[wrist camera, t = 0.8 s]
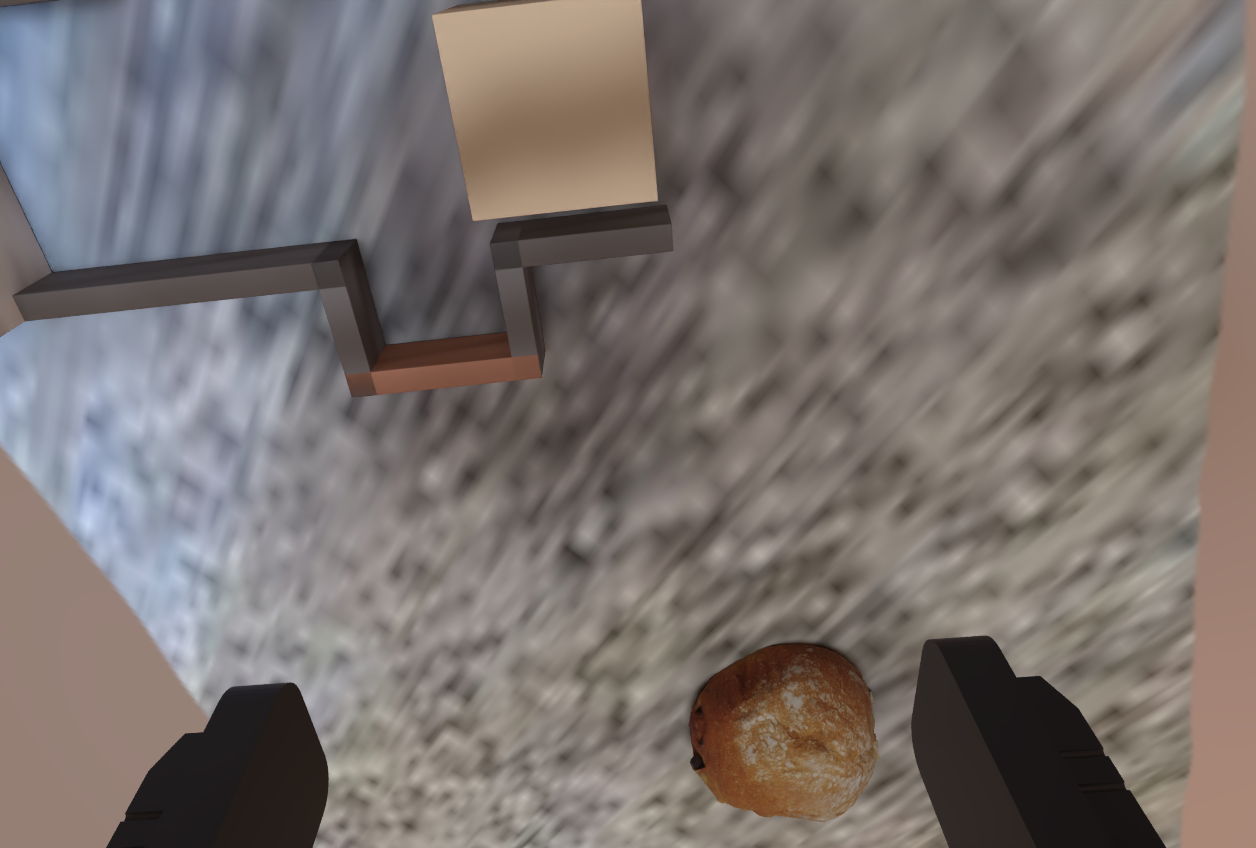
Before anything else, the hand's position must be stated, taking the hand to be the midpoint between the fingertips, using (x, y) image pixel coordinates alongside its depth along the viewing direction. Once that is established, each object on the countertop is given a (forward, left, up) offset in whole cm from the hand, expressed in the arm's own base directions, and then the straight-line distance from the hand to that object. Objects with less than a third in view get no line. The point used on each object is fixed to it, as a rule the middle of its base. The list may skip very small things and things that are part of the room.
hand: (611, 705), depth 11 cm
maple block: (-4, -1, -24) cm, 24 cm away
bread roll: (+29, +6, -24) cm, 38 cm away
